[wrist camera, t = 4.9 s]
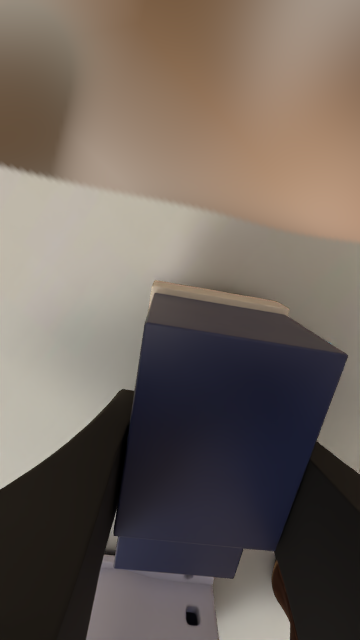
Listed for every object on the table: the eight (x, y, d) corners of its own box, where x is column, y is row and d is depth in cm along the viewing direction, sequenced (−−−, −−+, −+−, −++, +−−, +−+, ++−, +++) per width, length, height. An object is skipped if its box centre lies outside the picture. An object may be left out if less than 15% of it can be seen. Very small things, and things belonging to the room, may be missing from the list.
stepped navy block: (154, 279, 9) (141, 311, 5) (276, 300, 10) (358, 346, 5) (123, 484, 12) (96, 621, 8) (221, 495, 12) (248, 631, 8)
